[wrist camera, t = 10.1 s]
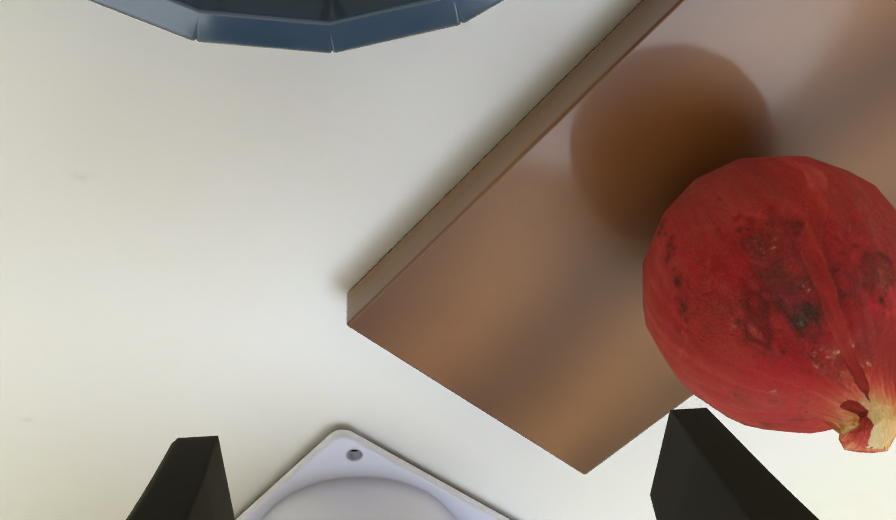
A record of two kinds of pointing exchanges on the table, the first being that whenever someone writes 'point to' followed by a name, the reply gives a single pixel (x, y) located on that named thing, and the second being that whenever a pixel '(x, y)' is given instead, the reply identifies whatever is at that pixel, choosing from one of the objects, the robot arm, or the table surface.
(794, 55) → the board
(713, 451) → the robot arm
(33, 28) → the table surface
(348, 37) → the bowl
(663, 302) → the onion
